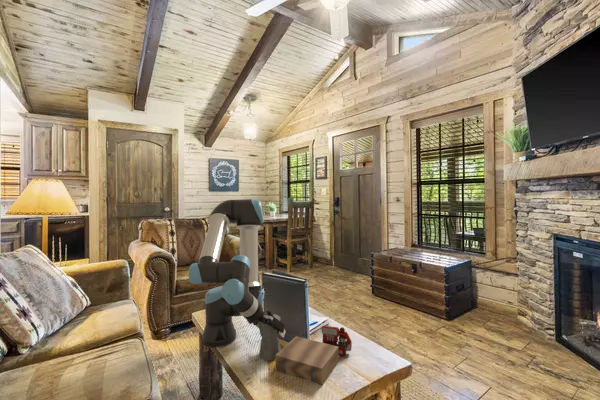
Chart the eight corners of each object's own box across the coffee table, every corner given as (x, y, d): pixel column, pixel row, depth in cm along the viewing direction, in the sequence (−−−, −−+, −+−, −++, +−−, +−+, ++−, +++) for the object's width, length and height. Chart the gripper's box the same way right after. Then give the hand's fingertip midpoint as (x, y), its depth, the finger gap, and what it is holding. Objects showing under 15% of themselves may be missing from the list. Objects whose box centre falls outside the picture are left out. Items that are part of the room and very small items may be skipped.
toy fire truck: (350, 358, 118) (350, 332, 117) (320, 354, 121) (319, 329, 121) (352, 349, 124) (352, 325, 124) (323, 345, 128) (323, 322, 127)
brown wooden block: (275, 370, 110) (275, 355, 110) (296, 350, 124) (296, 336, 124) (322, 385, 101) (321, 368, 101) (338, 361, 116) (338, 346, 115)
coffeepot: (284, 361, 116) (282, 316, 115) (260, 365, 114) (258, 319, 113) (278, 342, 131) (277, 302, 131) (257, 345, 129) (256, 304, 129)
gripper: (223, 312, 113) (250, 335, 128) (270, 323, 103) (293, 346, 117) (232, 294, 118) (257, 318, 132) (278, 303, 108) (299, 328, 122)
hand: (274, 331), depth 125 cm, fingers closed on coffeepot, 9 cm apart
